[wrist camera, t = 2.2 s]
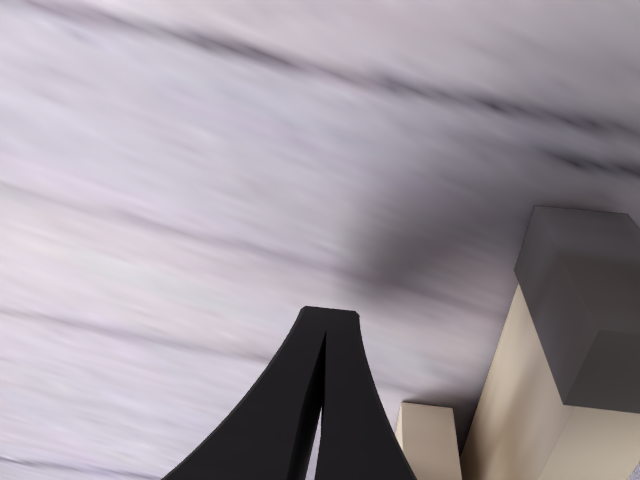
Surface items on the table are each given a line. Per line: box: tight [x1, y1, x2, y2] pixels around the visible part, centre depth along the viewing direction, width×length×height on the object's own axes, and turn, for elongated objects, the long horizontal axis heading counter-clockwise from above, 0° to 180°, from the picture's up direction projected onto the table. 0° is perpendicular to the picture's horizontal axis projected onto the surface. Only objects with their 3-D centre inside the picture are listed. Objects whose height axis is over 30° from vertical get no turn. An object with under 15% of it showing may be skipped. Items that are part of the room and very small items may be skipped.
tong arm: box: [460, 206, 640, 480], centre depth 12 cm, size 12×2×4 cm, turn 178°
